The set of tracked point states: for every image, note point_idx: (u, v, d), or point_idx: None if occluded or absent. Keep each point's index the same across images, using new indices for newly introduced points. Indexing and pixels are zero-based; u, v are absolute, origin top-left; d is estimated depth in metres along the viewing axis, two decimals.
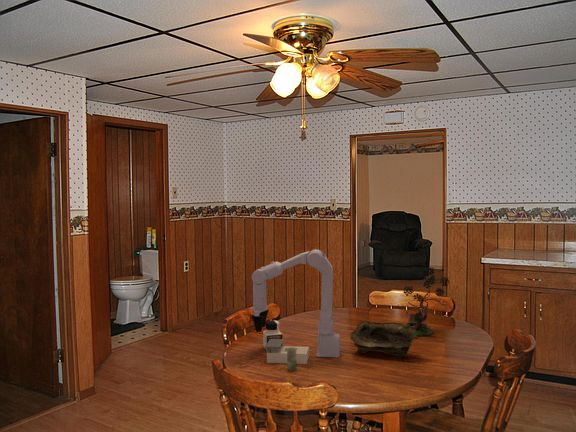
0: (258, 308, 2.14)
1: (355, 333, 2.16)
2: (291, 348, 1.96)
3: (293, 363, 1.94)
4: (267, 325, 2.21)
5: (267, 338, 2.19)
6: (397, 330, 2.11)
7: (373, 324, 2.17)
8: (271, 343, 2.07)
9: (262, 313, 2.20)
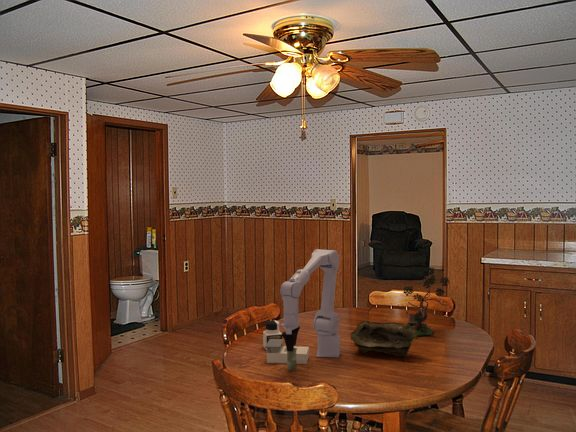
0: (289, 325, 1.92)
1: (355, 333, 2.16)
2: None
3: (293, 363, 1.94)
4: (267, 325, 2.21)
5: (267, 338, 2.19)
6: (397, 330, 2.11)
7: (373, 324, 2.17)
8: (271, 343, 2.07)
9: (293, 330, 1.99)
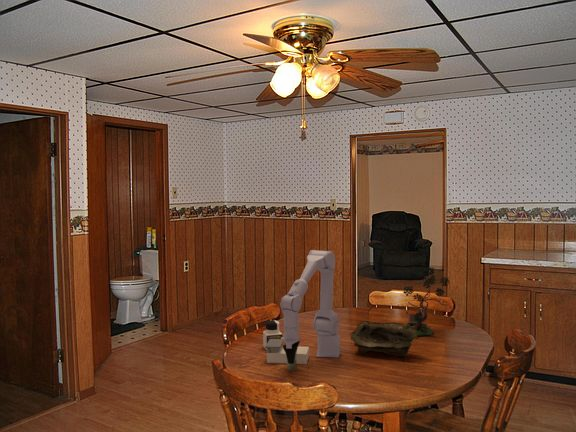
0: (290, 339, 1.92)
1: (355, 333, 2.16)
2: None
3: None
4: (267, 325, 2.21)
5: (267, 338, 2.19)
6: (397, 330, 2.11)
7: (373, 324, 2.17)
8: (271, 343, 2.07)
9: (292, 345, 1.97)
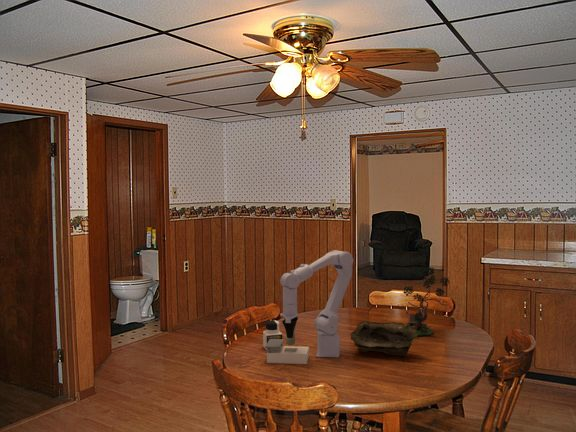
0: (289, 314, 2.02)
1: (355, 333, 2.16)
2: None
3: None
4: (267, 325, 2.21)
5: (267, 338, 2.19)
6: (397, 329, 2.11)
7: (373, 324, 2.17)
8: (271, 343, 2.07)
9: (291, 320, 2.07)
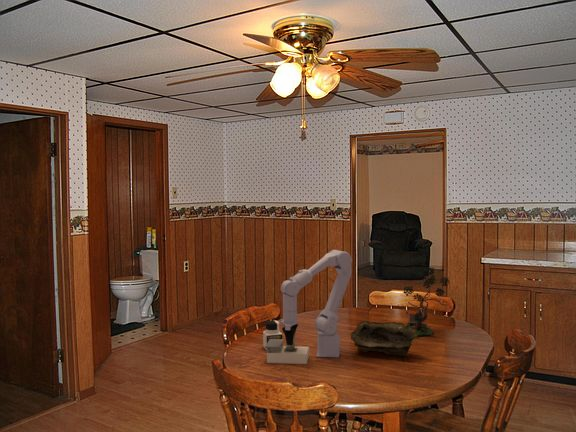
0: (288, 321, 2.04)
1: (355, 333, 2.16)
2: None
3: None
4: (267, 325, 2.21)
5: (267, 338, 2.19)
6: (397, 329, 2.11)
7: (373, 324, 2.17)
8: (271, 343, 2.07)
9: (291, 327, 2.09)
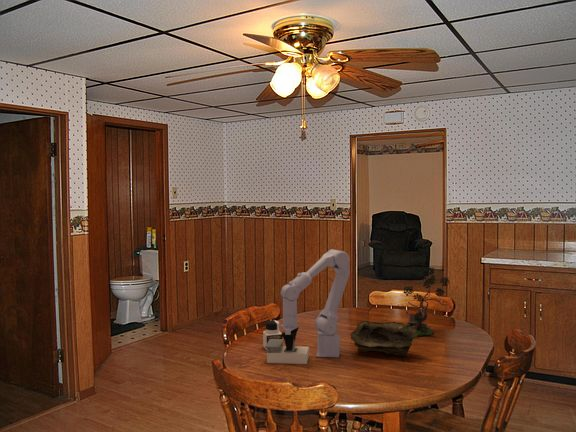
0: (289, 326, 2.04)
1: (355, 333, 2.16)
2: None
3: None
4: (267, 325, 2.21)
5: (267, 338, 2.19)
6: (397, 329, 2.11)
7: (373, 324, 2.17)
8: (271, 343, 2.07)
9: (292, 331, 2.10)
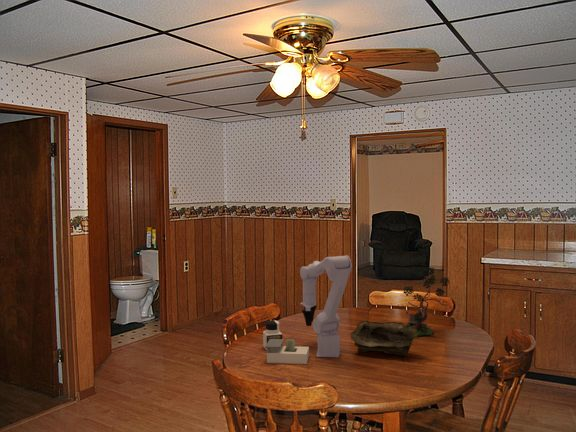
0: (308, 303, 2.23)
1: (355, 333, 2.16)
2: (290, 340, 2.07)
3: None
4: (267, 325, 2.21)
5: (267, 338, 2.19)
6: (397, 329, 2.12)
7: (373, 324, 2.17)
8: (271, 343, 2.07)
9: (310, 308, 2.29)
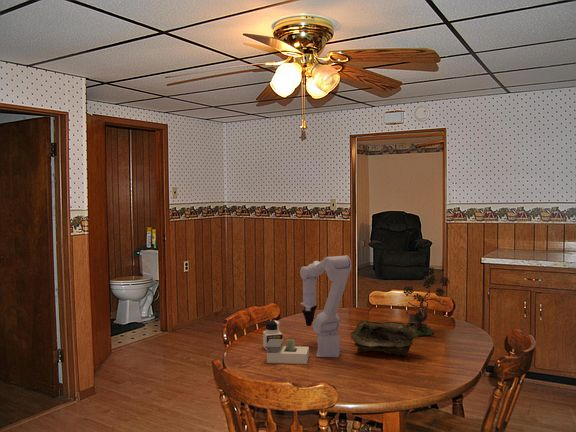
0: (308, 303, 2.23)
1: (355, 333, 2.16)
2: (290, 340, 2.07)
3: None
4: (267, 325, 2.21)
5: (267, 338, 2.19)
6: (397, 329, 2.12)
7: (373, 324, 2.18)
8: (271, 343, 2.07)
9: (311, 308, 2.29)
